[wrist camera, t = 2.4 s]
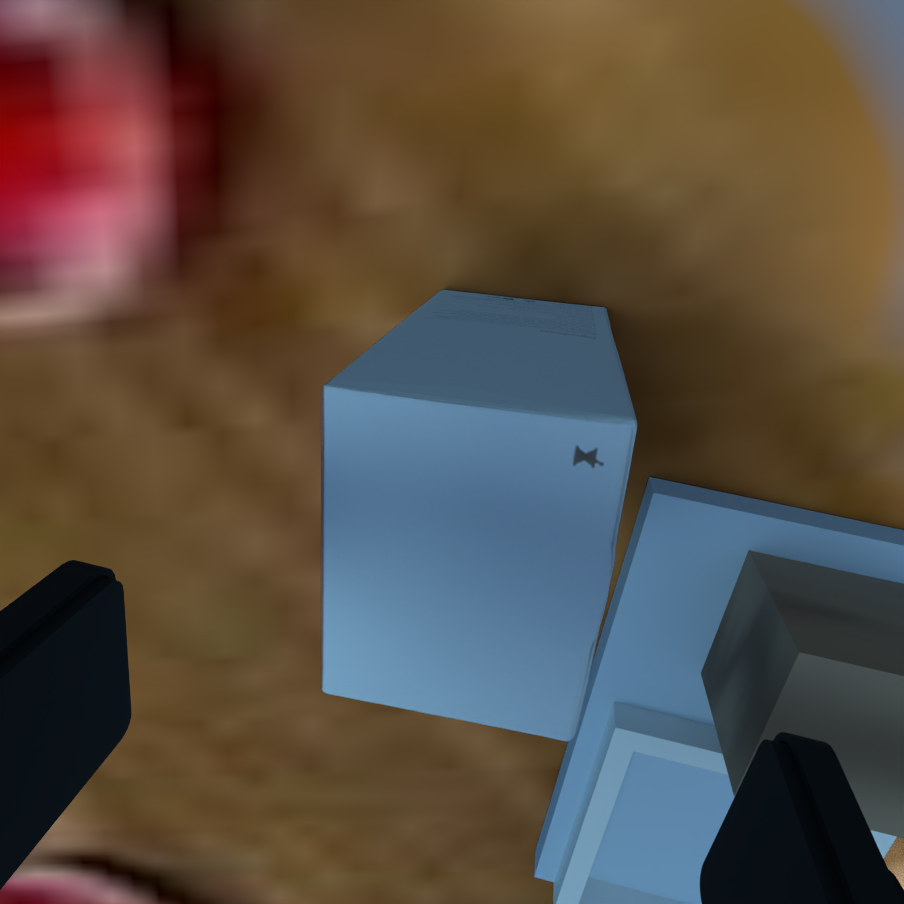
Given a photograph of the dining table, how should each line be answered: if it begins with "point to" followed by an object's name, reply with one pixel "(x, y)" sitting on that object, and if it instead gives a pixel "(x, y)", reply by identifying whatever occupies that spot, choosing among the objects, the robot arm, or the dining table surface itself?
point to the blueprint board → (673, 693)
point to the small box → (474, 511)
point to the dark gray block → (814, 674)
